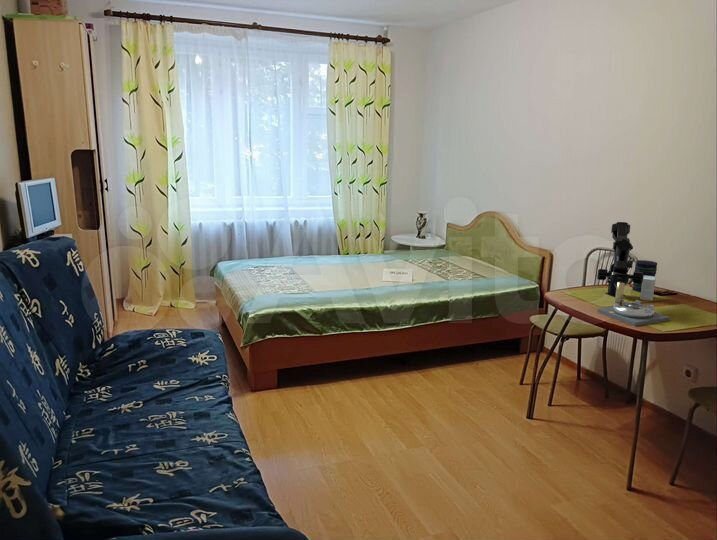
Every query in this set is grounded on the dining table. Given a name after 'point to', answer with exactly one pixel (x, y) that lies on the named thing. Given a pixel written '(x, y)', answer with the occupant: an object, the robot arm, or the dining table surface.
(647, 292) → the small box
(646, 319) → the housing plate
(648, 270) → the storage jar
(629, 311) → the metal disc with post
